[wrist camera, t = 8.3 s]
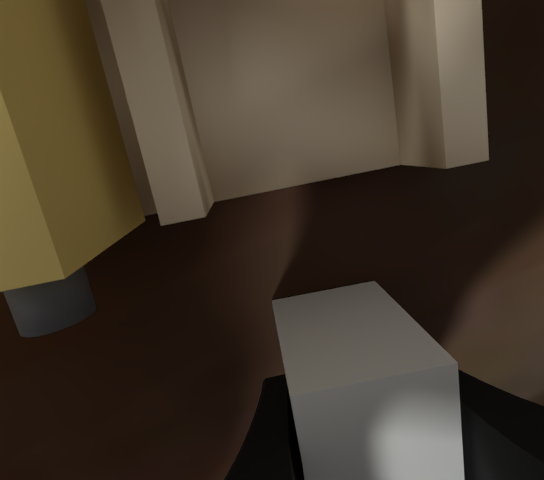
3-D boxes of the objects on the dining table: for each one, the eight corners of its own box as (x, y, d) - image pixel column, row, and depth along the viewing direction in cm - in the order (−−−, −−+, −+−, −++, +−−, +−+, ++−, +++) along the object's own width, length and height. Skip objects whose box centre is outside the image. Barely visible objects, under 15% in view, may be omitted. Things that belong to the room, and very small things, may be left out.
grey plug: (394, 463, 14) (473, 623, 10) (305, 482, 14) (337, 653, 9) (374, 280, 13) (457, 362, 8) (271, 300, 12) (290, 396, 8)
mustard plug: (159, 270, 11) (94, 362, 6) (40, 293, 11) (-121, 407, 6) (80, -15, 9) (-98, -197, 4) (-63, 11, 9) (-407, -147, 4)
